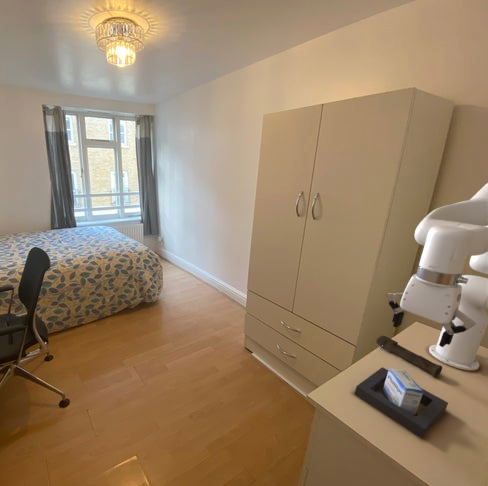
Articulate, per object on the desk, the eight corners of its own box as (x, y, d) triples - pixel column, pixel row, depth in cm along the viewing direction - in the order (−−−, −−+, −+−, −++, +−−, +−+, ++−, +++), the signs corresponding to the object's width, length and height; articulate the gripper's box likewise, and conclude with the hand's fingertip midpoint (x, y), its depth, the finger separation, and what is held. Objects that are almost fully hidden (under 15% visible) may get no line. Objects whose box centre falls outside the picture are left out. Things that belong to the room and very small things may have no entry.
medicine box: (381, 391, 85) (388, 367, 82) (397, 392, 84) (404, 369, 81) (398, 413, 77) (406, 388, 75) (416, 415, 76) (424, 390, 74)
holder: (380, 375, 91) (382, 367, 90) (445, 411, 78) (448, 402, 77) (354, 394, 83) (356, 385, 83) (421, 438, 70) (424, 429, 69)
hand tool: (441, 375, 91) (445, 363, 89) (434, 378, 89) (438, 367, 88) (380, 342, 108) (383, 331, 106) (373, 344, 106) (376, 334, 105)
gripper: (493, 285, 63) (469, 348, 68) (401, 262, 77) (387, 316, 82) (483, 292, 59) (458, 359, 64) (388, 267, 74) (374, 322, 78)
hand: (418, 334), depth 73 cm, fingers open, 9 cm apart
